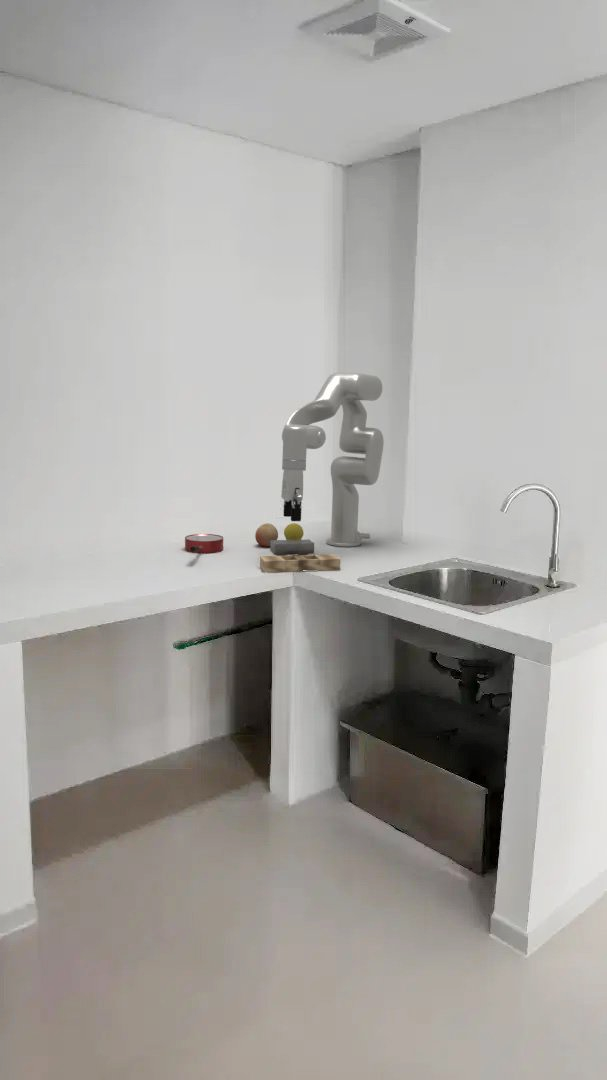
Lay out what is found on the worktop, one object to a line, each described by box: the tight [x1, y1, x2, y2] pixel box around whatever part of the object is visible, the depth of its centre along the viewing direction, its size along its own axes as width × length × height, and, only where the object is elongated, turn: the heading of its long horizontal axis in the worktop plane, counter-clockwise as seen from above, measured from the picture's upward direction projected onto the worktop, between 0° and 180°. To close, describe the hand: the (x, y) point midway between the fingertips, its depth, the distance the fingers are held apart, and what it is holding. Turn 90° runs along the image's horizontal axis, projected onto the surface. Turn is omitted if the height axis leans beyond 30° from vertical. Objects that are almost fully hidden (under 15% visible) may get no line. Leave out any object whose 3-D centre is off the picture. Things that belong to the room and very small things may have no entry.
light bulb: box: [283, 522, 304, 540], centre depth 271 cm, size 7×7×10 cm
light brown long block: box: [259, 553, 341, 573], centre depth 247 cm, size 24×7×4 cm, turn 105°
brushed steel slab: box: [269, 539, 315, 556], centre depth 257 cm, size 13×6×6 cm, turn 105°
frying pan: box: [184, 533, 224, 554], centre depth 262 cm, size 32×13×6 cm, turn 4°
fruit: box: [254, 522, 279, 548], centre depth 279 cm, size 8×8×8 cm
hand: (292, 518), depth 254 cm, fingers open, 9 cm apart
